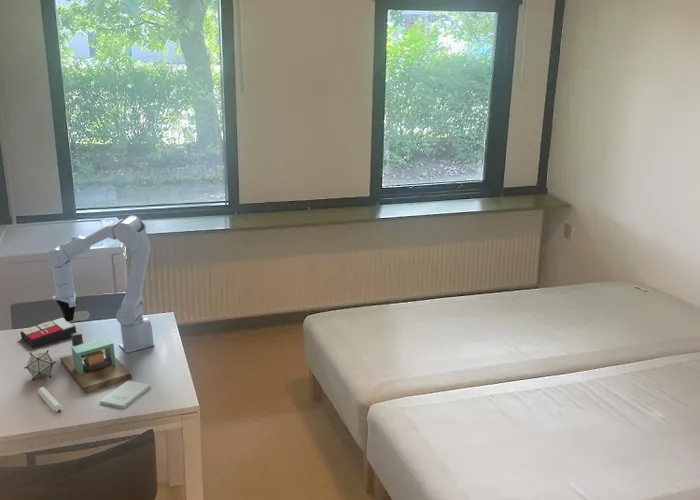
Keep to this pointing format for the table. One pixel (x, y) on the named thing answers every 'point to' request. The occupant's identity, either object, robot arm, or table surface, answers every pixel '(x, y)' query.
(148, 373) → the table surface
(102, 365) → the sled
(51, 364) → the game die
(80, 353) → the tunnel
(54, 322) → the sliding block puzzle
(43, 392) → the marker
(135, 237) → the robot arm
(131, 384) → the external hard drive
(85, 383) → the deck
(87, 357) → the block
